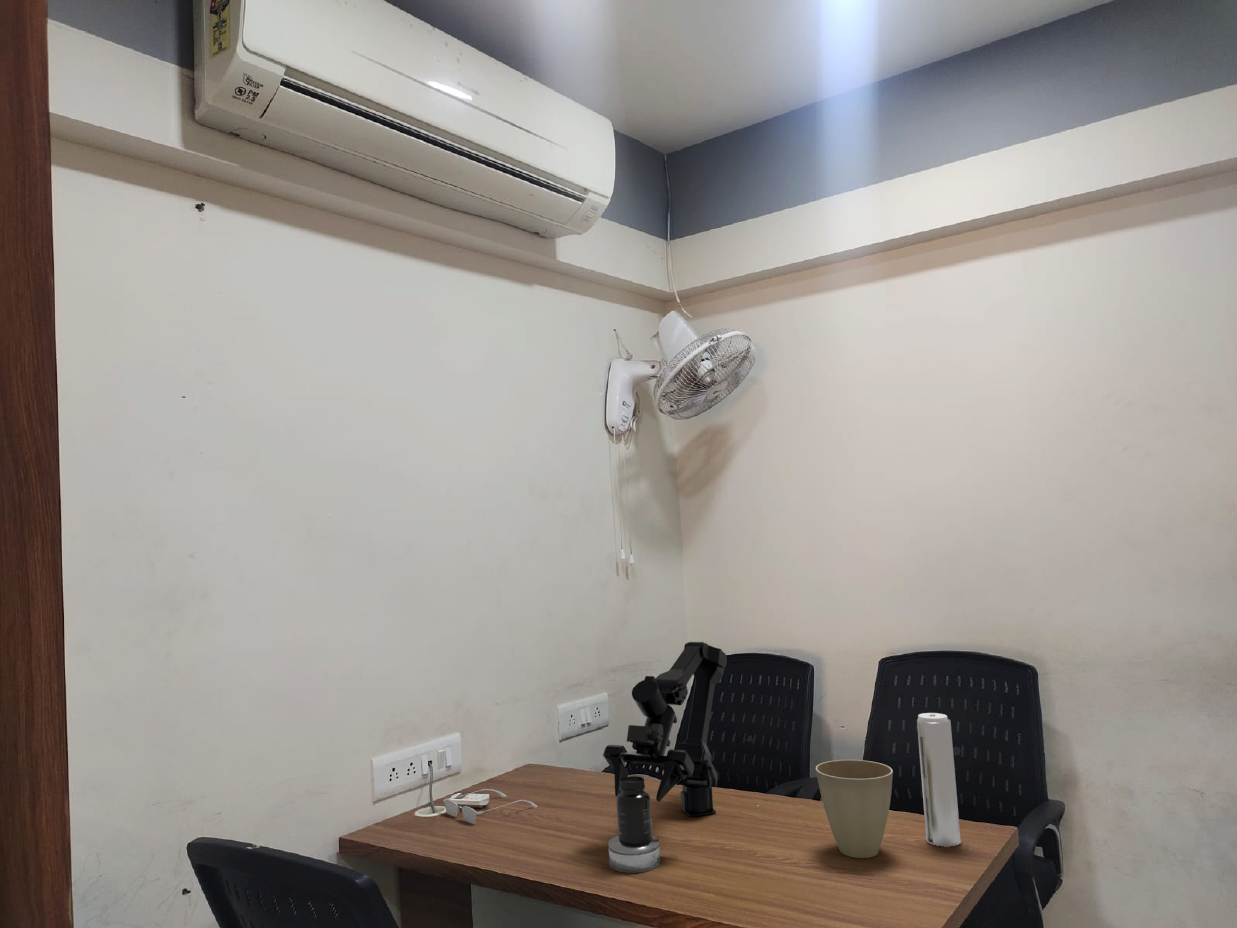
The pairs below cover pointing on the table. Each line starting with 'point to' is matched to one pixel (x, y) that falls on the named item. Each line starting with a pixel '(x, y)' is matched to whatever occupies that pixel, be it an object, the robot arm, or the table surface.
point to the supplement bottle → (634, 813)
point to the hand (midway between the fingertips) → (636, 798)
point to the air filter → (938, 780)
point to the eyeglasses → (468, 812)
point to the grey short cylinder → (633, 856)
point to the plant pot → (856, 803)
